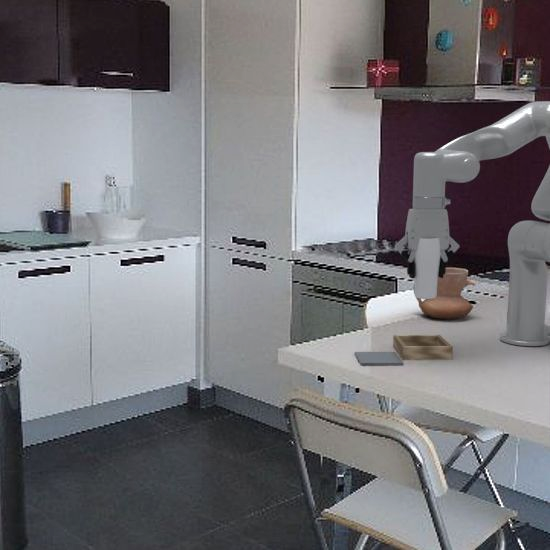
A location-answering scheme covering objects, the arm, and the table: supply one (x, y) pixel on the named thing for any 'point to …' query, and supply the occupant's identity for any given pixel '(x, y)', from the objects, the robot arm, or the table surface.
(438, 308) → the ceramic jug
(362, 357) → the slate coaster
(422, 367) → the table surface
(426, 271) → the drinking glass
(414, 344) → the oak collar
